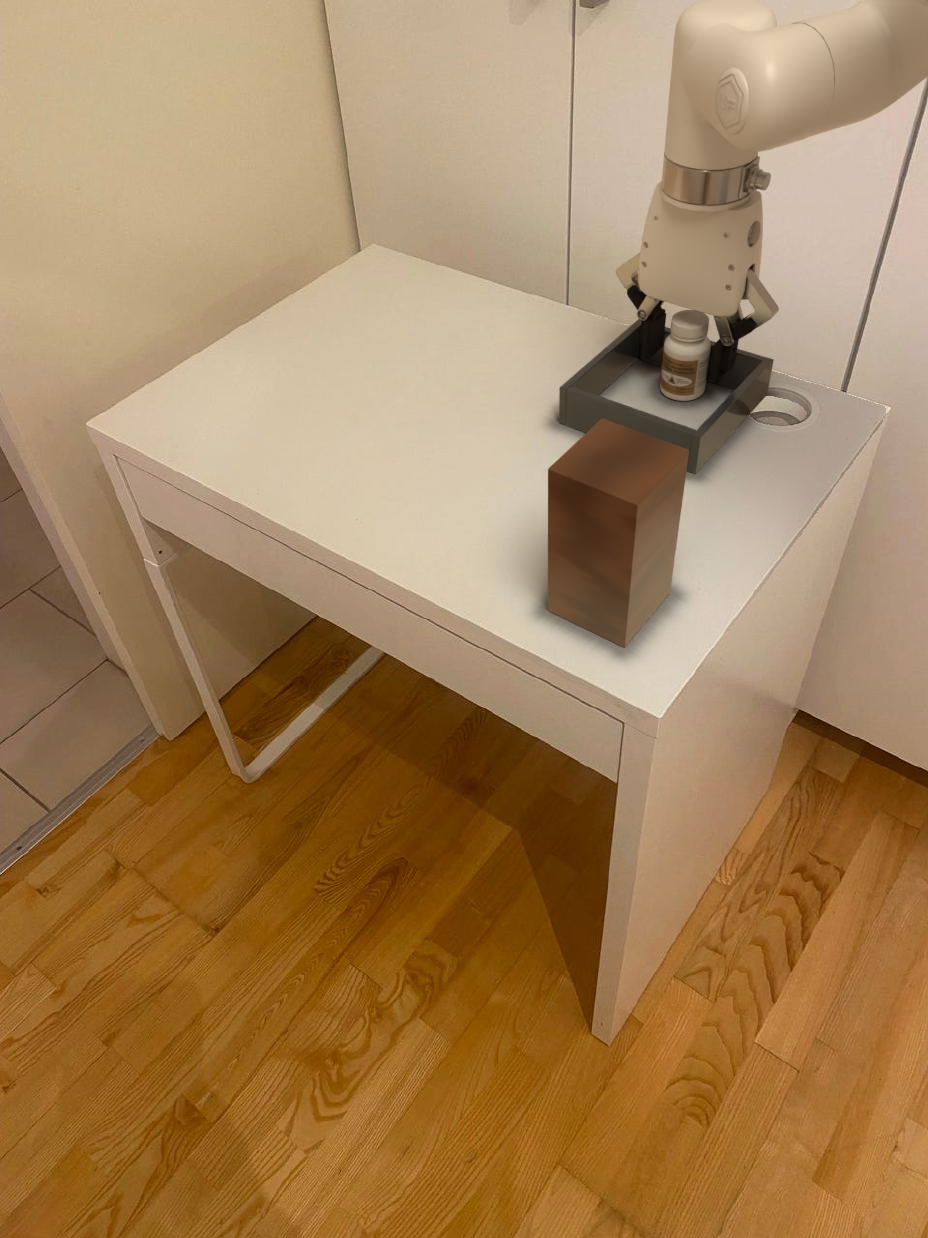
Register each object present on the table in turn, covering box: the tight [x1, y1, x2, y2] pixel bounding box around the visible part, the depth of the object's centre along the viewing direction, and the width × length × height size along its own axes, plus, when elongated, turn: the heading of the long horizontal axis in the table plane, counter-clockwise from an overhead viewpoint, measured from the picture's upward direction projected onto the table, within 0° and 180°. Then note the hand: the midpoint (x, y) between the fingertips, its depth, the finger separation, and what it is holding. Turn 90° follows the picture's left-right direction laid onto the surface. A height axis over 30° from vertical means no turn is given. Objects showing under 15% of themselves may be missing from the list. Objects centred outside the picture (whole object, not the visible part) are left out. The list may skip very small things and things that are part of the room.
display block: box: [547, 418, 689, 648], centre depth 70 cm, size 7×7×14 cm
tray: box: [558, 318, 774, 475], centre depth 91 cm, size 15×15×4 cm
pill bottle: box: [659, 309, 711, 402], centre depth 92 cm, size 4×4×8 cm
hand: (685, 362), depth 92 cm, fingers open, 6 cm apart
